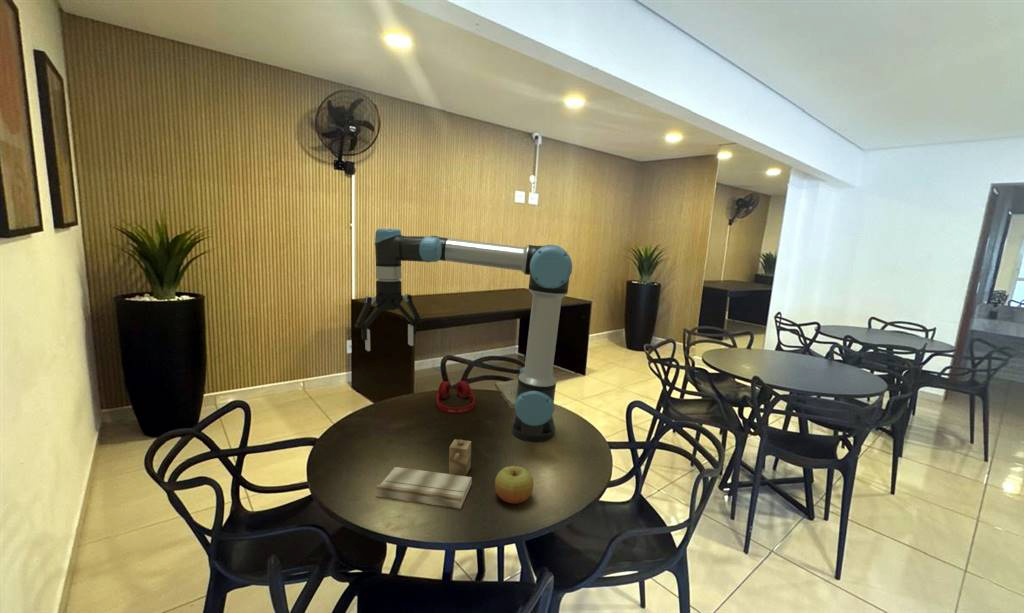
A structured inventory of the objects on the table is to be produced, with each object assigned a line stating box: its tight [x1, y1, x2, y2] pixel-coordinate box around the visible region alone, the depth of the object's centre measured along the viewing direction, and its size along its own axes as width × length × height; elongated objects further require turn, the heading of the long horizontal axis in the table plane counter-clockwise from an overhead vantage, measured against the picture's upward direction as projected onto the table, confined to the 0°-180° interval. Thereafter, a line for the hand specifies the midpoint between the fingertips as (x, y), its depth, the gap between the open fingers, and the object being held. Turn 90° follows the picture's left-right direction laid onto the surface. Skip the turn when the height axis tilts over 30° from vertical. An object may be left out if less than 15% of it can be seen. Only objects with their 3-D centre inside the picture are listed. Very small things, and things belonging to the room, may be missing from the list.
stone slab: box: [494, 379, 518, 410], centre depth 181 cm, size 12×4×30 cm
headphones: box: [435, 380, 476, 415], centre depth 172 cm, size 15×7×20 cm
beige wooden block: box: [448, 439, 472, 476], centre depth 122 cm, size 5×8×9 cm, turn 171°
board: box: [376, 466, 473, 510], centre depth 114 cm, size 22×11×3 cm, turn 81°
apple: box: [494, 465, 534, 505], centre depth 112 cm, size 10×10×8 cm
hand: (389, 347), depth 136 cm, fingers open, 13 cm apart
